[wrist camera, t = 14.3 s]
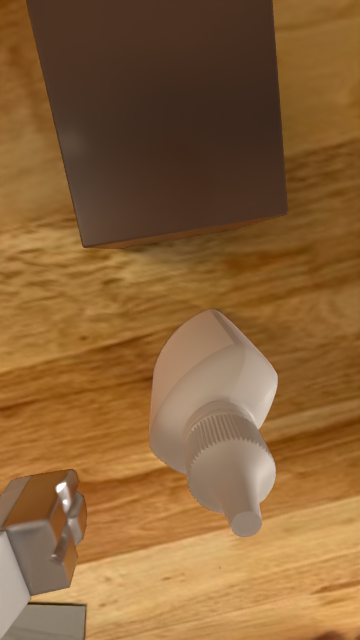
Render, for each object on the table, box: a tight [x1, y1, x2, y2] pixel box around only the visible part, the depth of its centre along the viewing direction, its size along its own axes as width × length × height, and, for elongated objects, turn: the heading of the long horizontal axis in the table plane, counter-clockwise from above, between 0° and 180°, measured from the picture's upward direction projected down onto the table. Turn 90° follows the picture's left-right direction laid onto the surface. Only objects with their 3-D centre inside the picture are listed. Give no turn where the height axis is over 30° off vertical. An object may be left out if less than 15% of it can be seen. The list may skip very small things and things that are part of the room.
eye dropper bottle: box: [149, 309, 278, 537], centre depth 12 cm, size 4×6×12 cm
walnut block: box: [26, 0, 288, 249], centre depth 13 cm, size 7×7×7 cm
